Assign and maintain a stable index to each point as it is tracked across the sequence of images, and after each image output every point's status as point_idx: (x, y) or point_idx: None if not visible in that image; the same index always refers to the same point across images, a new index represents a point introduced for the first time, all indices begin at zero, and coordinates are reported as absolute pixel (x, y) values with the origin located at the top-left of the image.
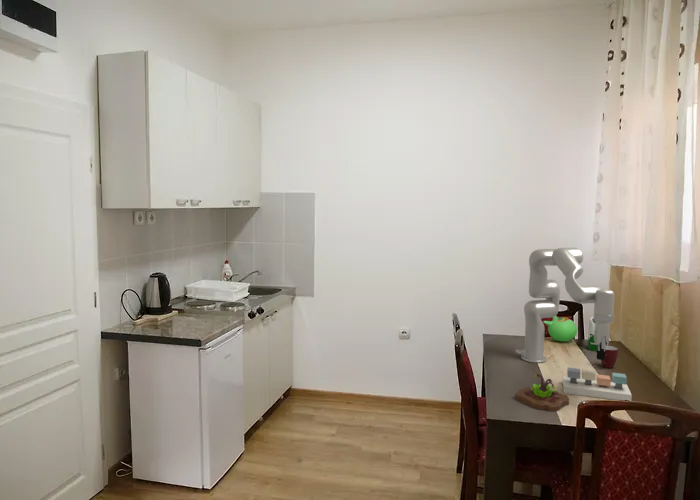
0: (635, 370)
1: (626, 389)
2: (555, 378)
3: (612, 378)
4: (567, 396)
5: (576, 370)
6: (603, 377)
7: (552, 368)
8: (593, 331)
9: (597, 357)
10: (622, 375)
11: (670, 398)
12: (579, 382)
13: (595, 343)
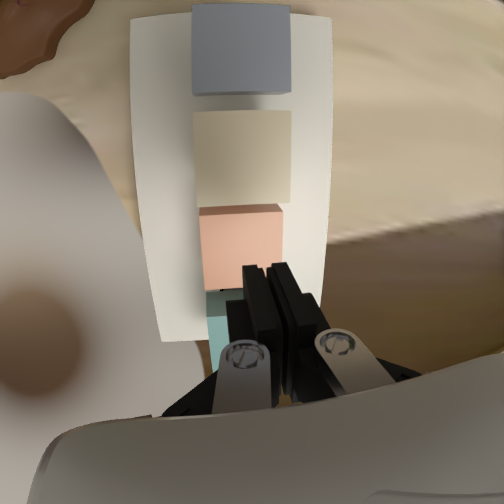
0: (491, 327)
1: None
2: (362, 5)
3: None
4: (29, 60)
5: (229, 63)
6: (228, 250)
7: (479, 37)
8: None
9: (243, 277)
10: None
11: None
12: (243, 98)
13: (143, 422)
